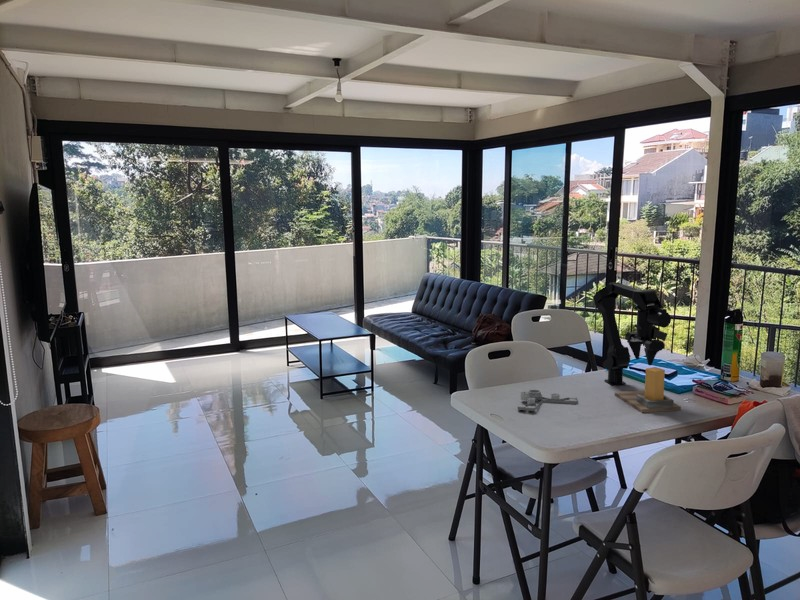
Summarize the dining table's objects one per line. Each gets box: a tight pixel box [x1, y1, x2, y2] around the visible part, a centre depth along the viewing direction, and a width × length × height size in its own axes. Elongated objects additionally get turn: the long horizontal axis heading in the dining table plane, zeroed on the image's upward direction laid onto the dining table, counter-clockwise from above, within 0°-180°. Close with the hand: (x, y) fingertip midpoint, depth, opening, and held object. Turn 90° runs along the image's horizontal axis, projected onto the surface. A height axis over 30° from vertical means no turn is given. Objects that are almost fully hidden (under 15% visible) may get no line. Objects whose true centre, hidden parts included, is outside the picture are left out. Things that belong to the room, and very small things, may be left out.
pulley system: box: [517, 389, 578, 412], centre depth 224 cm, size 27×5×15 cm
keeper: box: [614, 389, 682, 413], centre depth 221 cm, size 20×15×4 cm
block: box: [644, 366, 666, 401], centre depth 215 cm, size 4×4×13 cm
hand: (643, 362), depth 229 cm, fingers open, 9 cm apart
